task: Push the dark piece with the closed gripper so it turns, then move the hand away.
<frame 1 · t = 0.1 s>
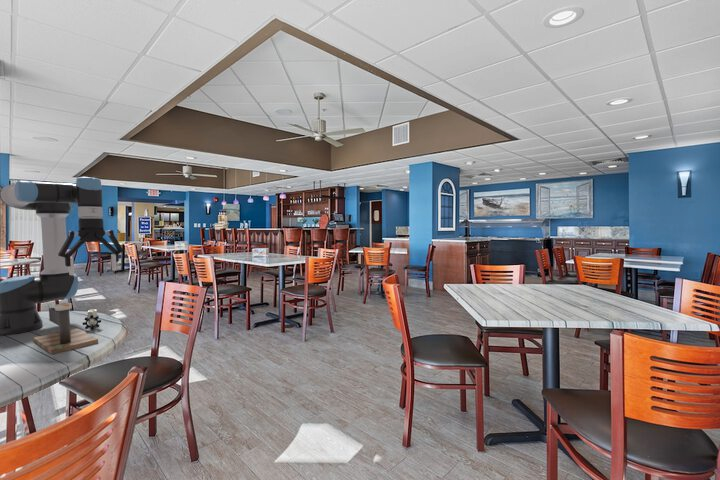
hand: (93, 272, 132), 28 cm above the table, tool pointing down, fingers open, 13 cm apart
board: (65, 341, 135), on the table
valve: (92, 327, 155), on the table
dark piece: (59, 320, 133), point 9 cm above the table, hinge at 0.0°
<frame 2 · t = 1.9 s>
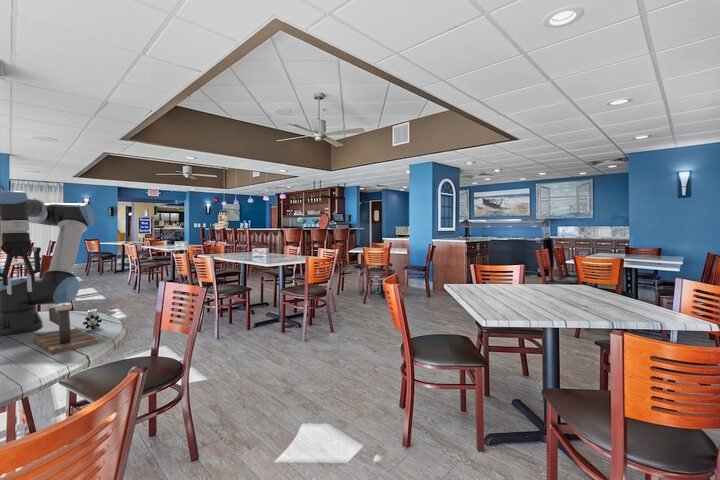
hand: (19, 292, 130), 21 cm above the table, tool pointing down, fingers open, 5 cm apart
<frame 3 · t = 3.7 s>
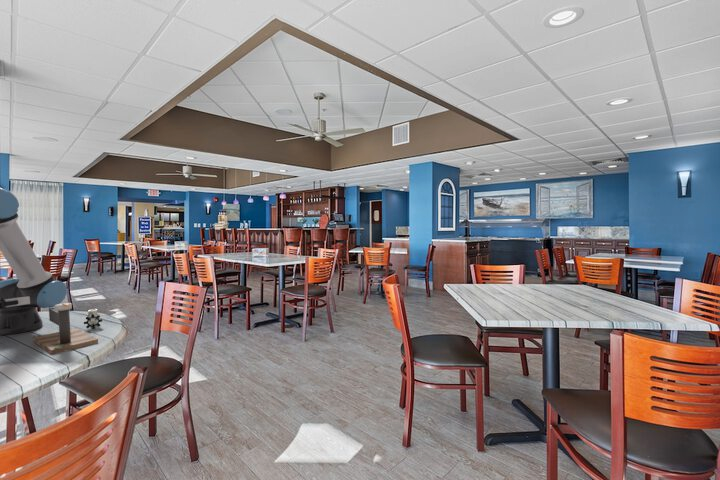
hand: (29, 300, 130), 18 cm above the table, tool horizontal, fingers closed
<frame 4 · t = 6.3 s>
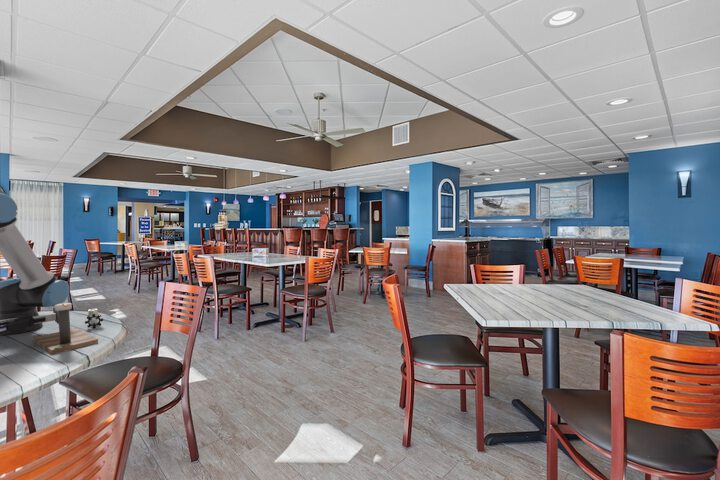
hand: (55, 316, 136), 10 cm above the table, tool horizontal, fingers closed
dark piece: (61, 320, 133), point 9 cm above the table, hinge at -4.8°, touching gripper
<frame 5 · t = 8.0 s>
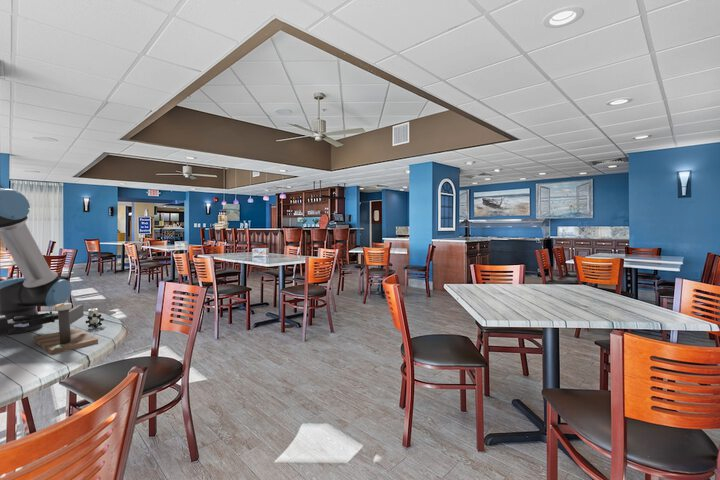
hand: (74, 313, 141), 10 cm above the table, tool horizontal, fingers closed
dark piece: (70, 318, 135), point 9 cm above the table, hinge at -34.4°, touching gripper
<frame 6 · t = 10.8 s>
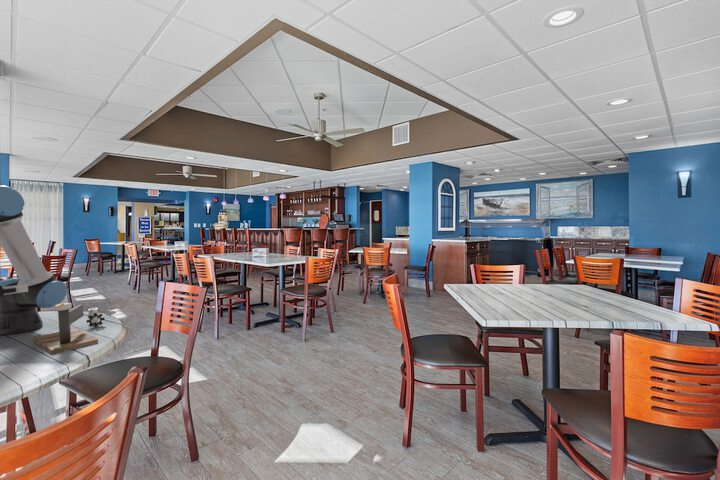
hand: (27, 287, 129), 23 cm above the table, tool horizontal, fingers closed
dark piece: (70, 318, 135), point 9 cm above the table, hinge at -34.4°
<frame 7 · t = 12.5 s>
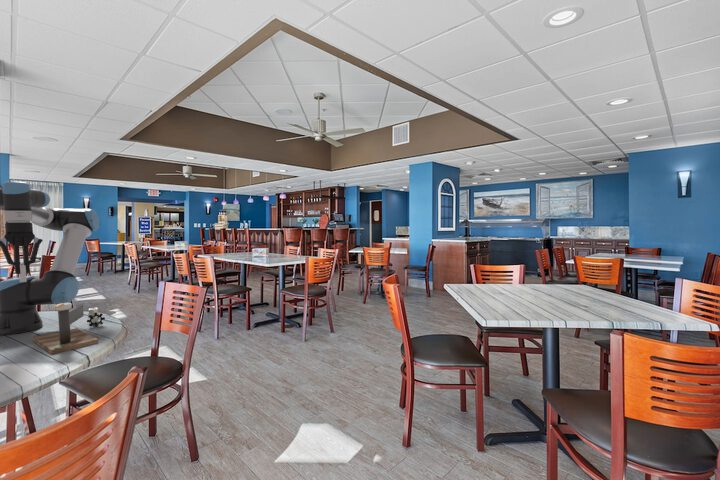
hand: (23, 281, 134), 24 cm above the table, tool pointing down, fingers closed
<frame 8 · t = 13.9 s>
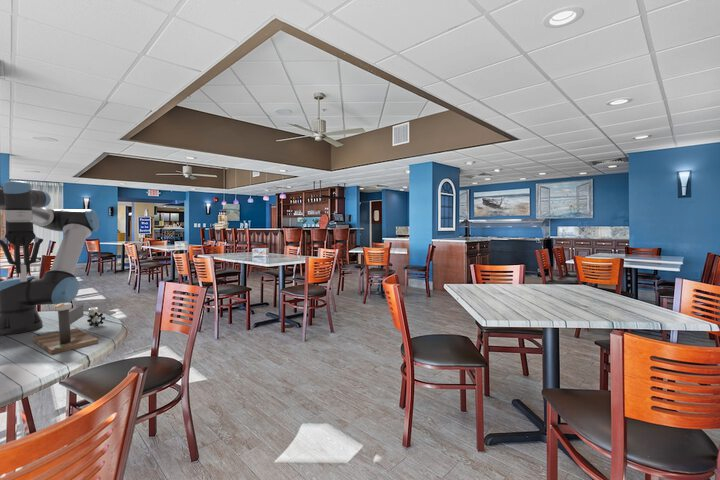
hand: (23, 281, 134), 24 cm above the table, tool pointing down, fingers closed
at the end: dark piece at -34° (first picture: +0°); the gripper is holding nothing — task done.
